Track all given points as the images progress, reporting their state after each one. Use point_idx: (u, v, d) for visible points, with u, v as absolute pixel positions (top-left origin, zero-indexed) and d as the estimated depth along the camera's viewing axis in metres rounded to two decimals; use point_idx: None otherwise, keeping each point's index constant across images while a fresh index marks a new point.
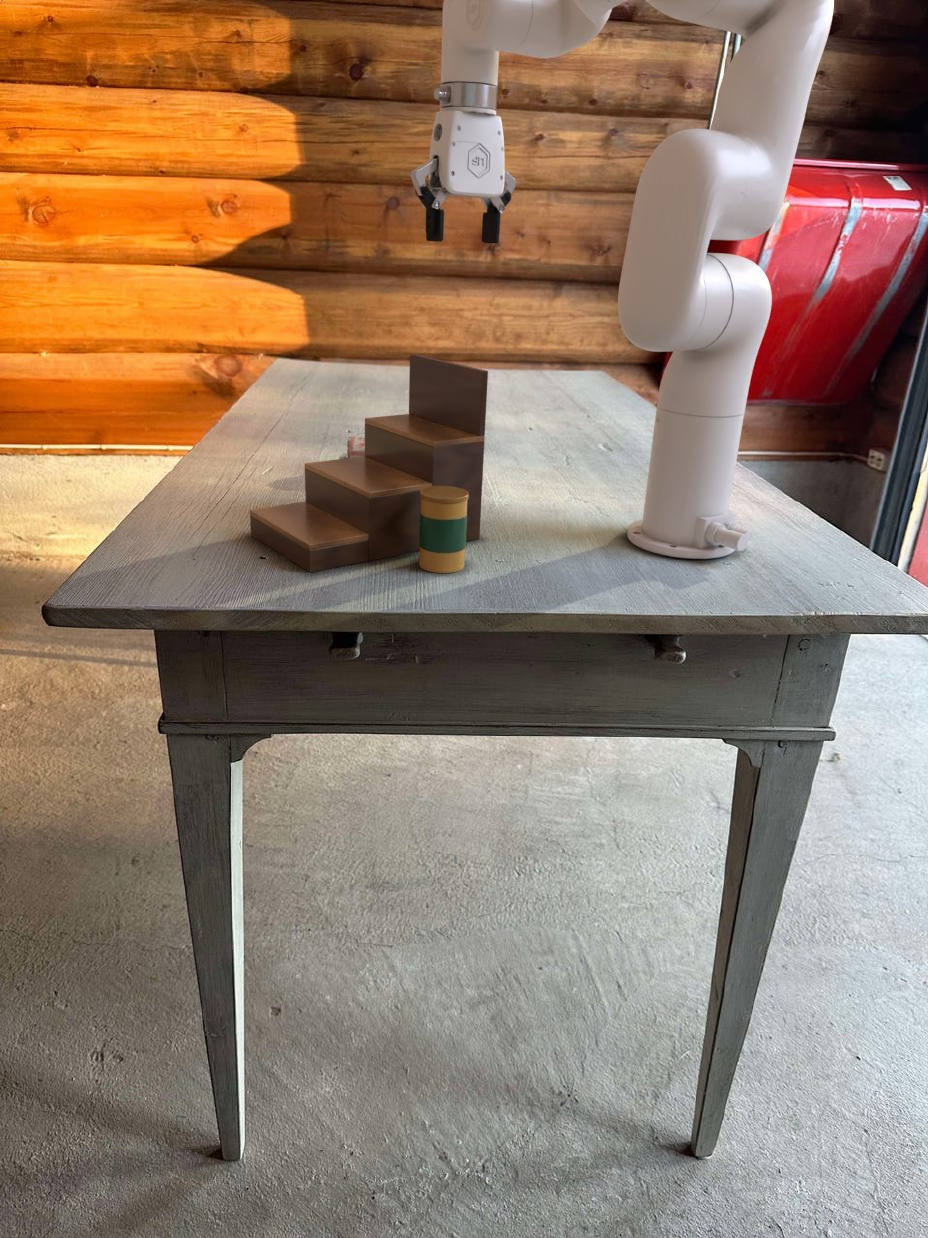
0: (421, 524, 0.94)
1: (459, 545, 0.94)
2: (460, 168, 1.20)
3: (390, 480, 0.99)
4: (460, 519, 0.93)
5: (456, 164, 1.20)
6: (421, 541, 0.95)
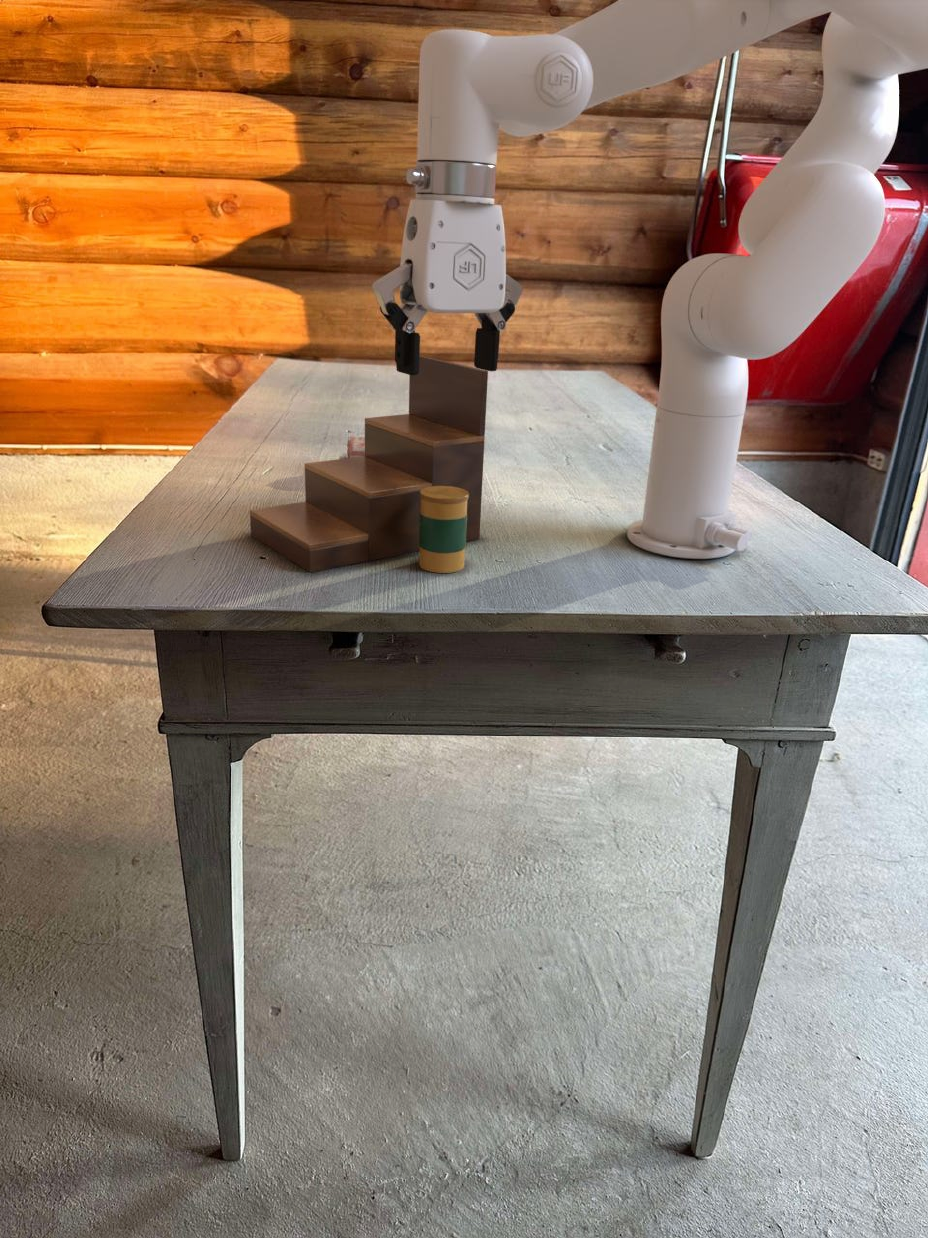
0: (421, 524, 0.94)
1: (459, 545, 0.94)
2: (442, 278, 0.86)
3: (390, 480, 0.99)
4: (460, 519, 0.93)
5: (436, 273, 0.85)
6: (421, 541, 0.95)
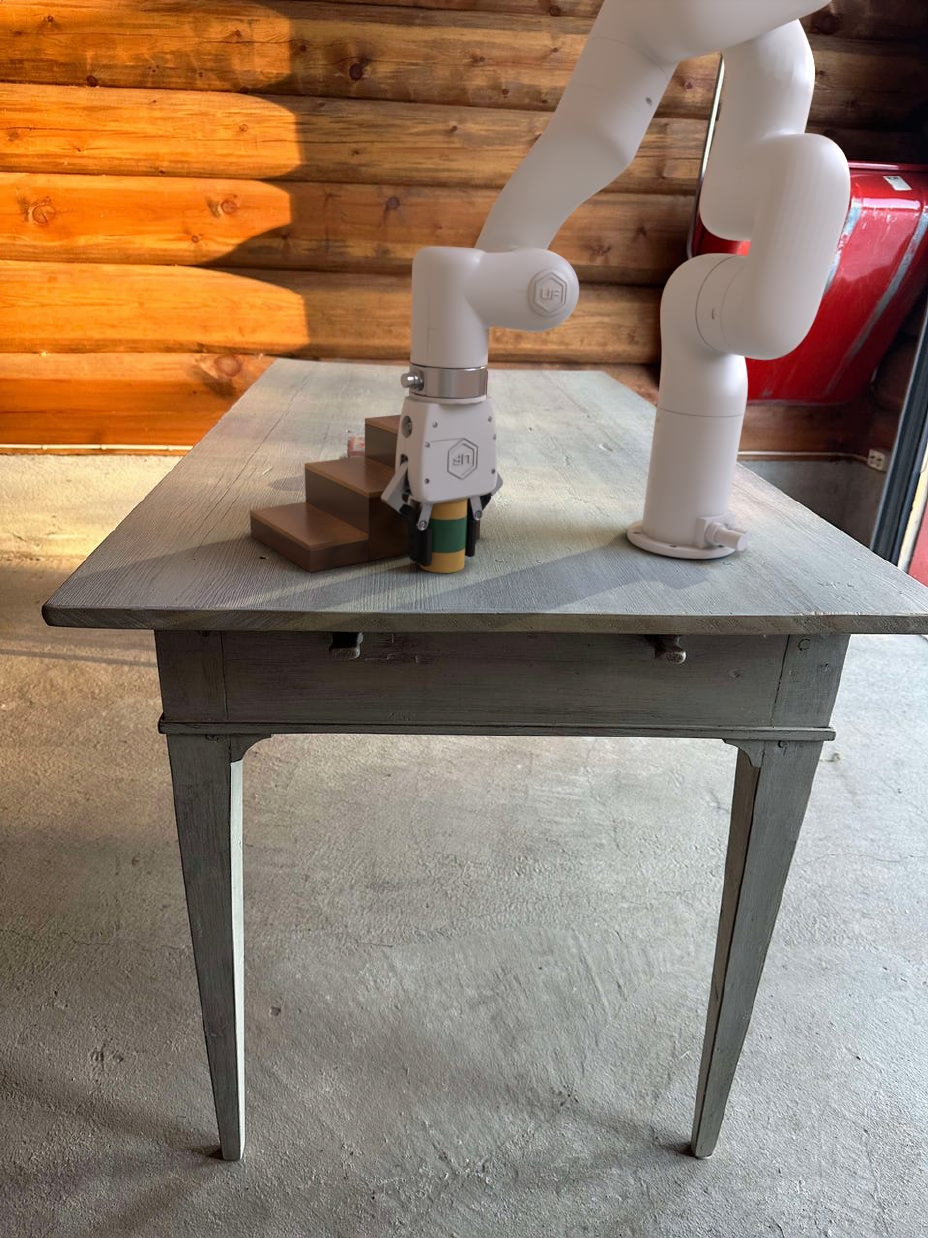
0: None
1: (459, 545, 0.94)
2: (437, 473, 0.89)
3: (390, 480, 0.99)
4: (460, 519, 0.93)
5: (431, 469, 0.88)
6: None
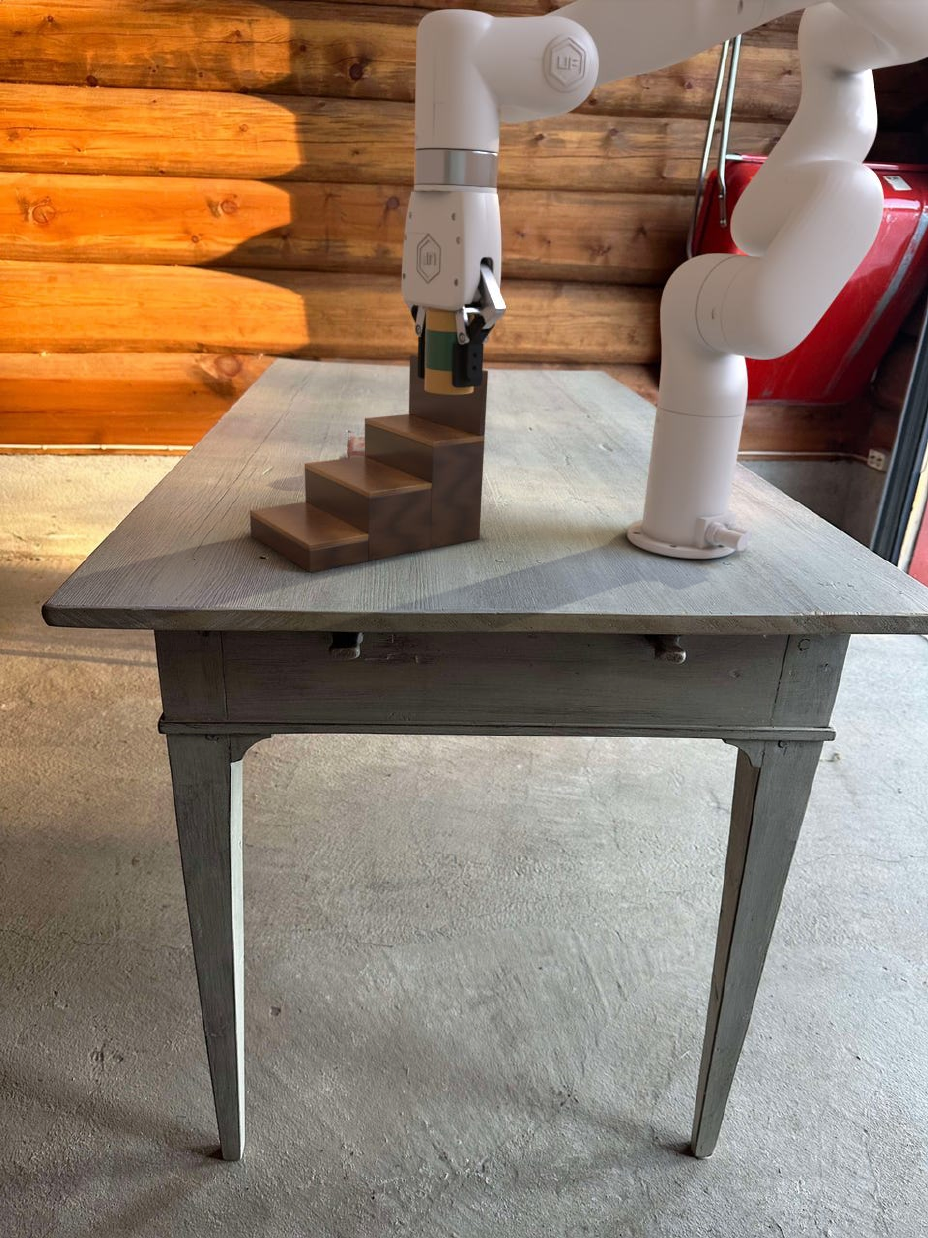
0: None
1: (432, 362, 0.87)
2: (410, 269, 0.86)
3: (390, 480, 0.99)
4: (432, 331, 0.86)
5: (407, 263, 0.86)
6: None
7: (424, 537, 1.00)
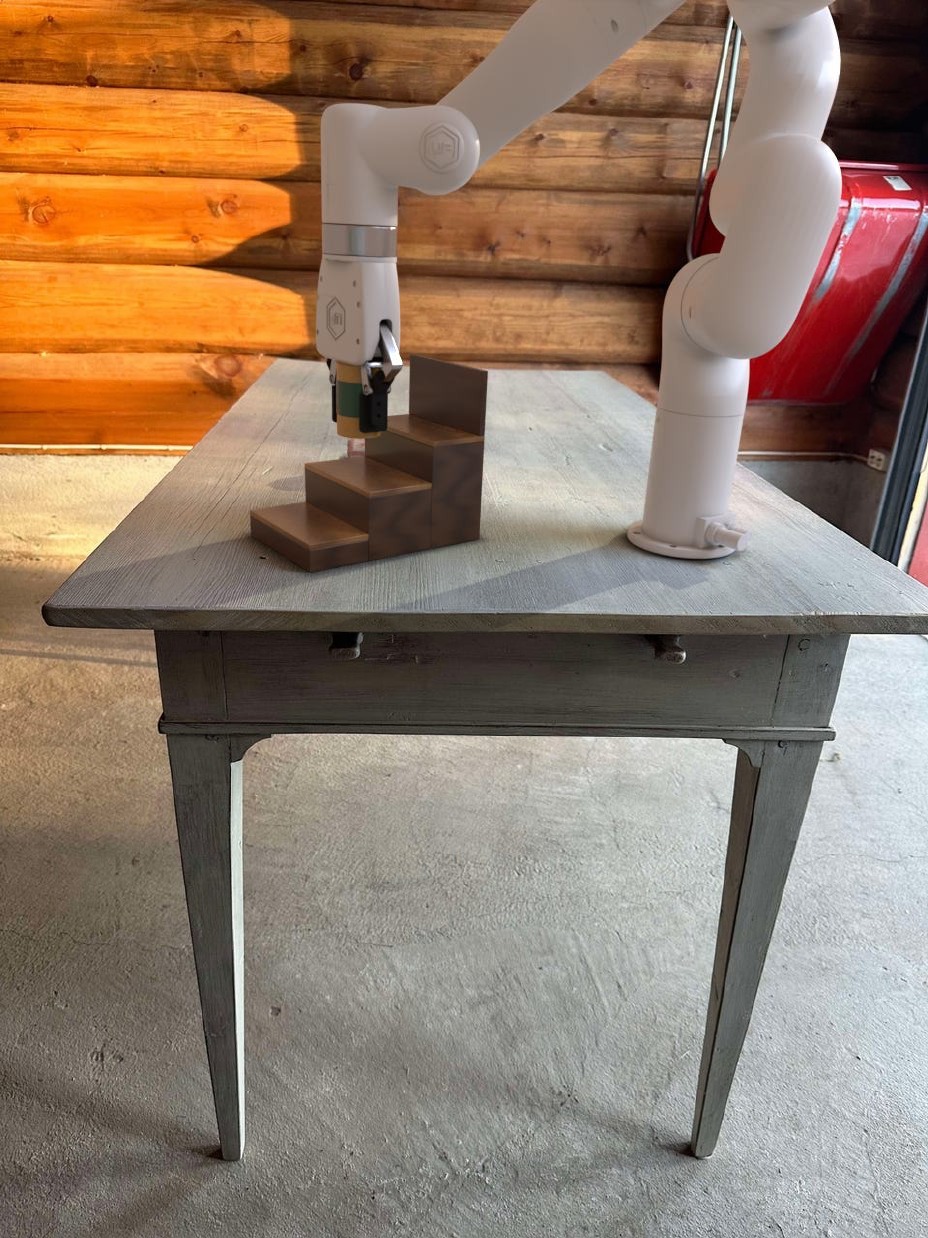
0: None
1: (341, 409, 0.96)
2: (322, 326, 0.95)
3: (390, 480, 0.99)
4: (341, 382, 0.95)
5: (319, 321, 0.96)
6: None
7: (424, 537, 1.00)
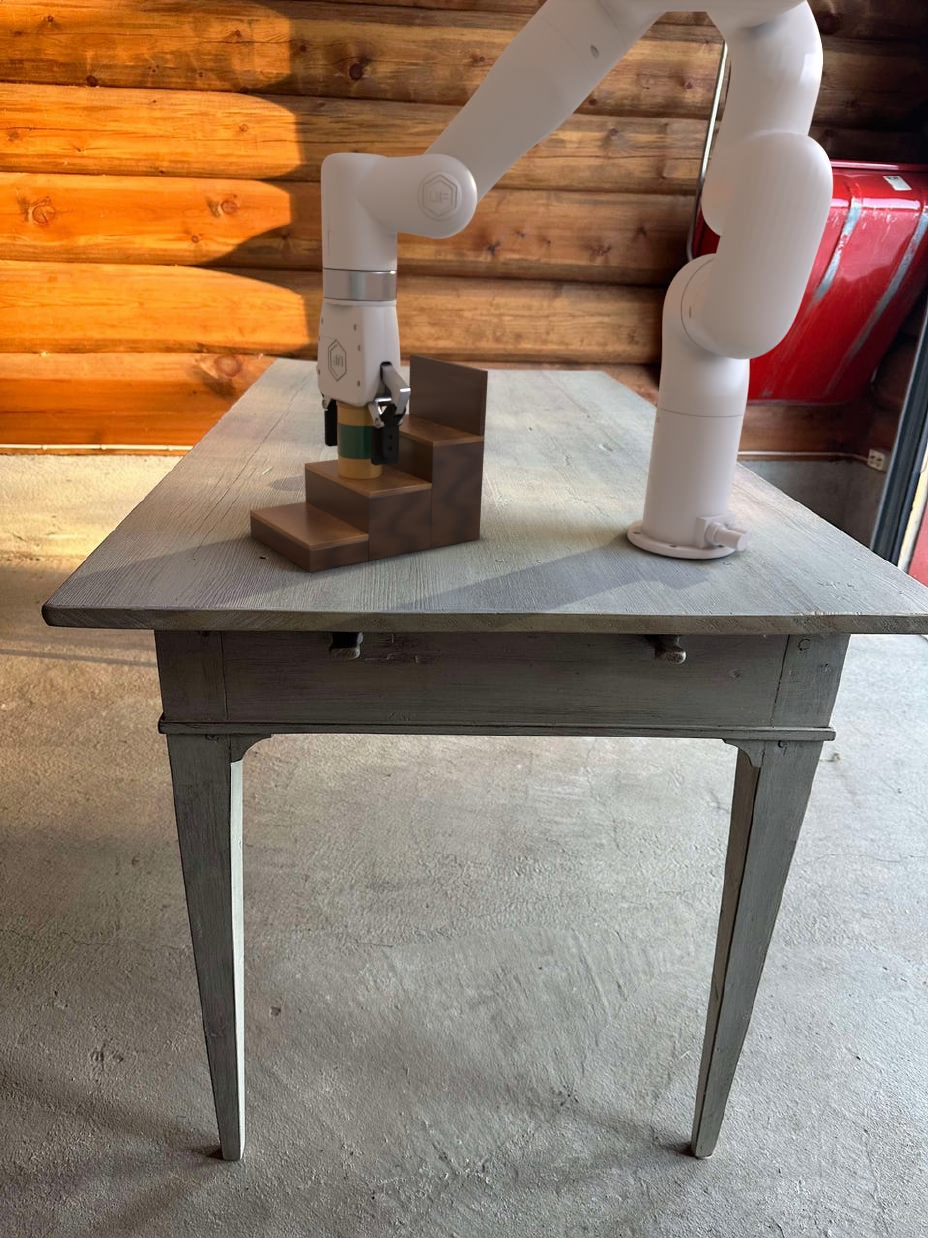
0: None
1: (342, 451, 0.98)
2: (323, 367, 0.97)
3: (390, 480, 0.99)
4: (342, 424, 0.97)
5: (321, 361, 0.97)
6: None
7: (424, 537, 1.00)
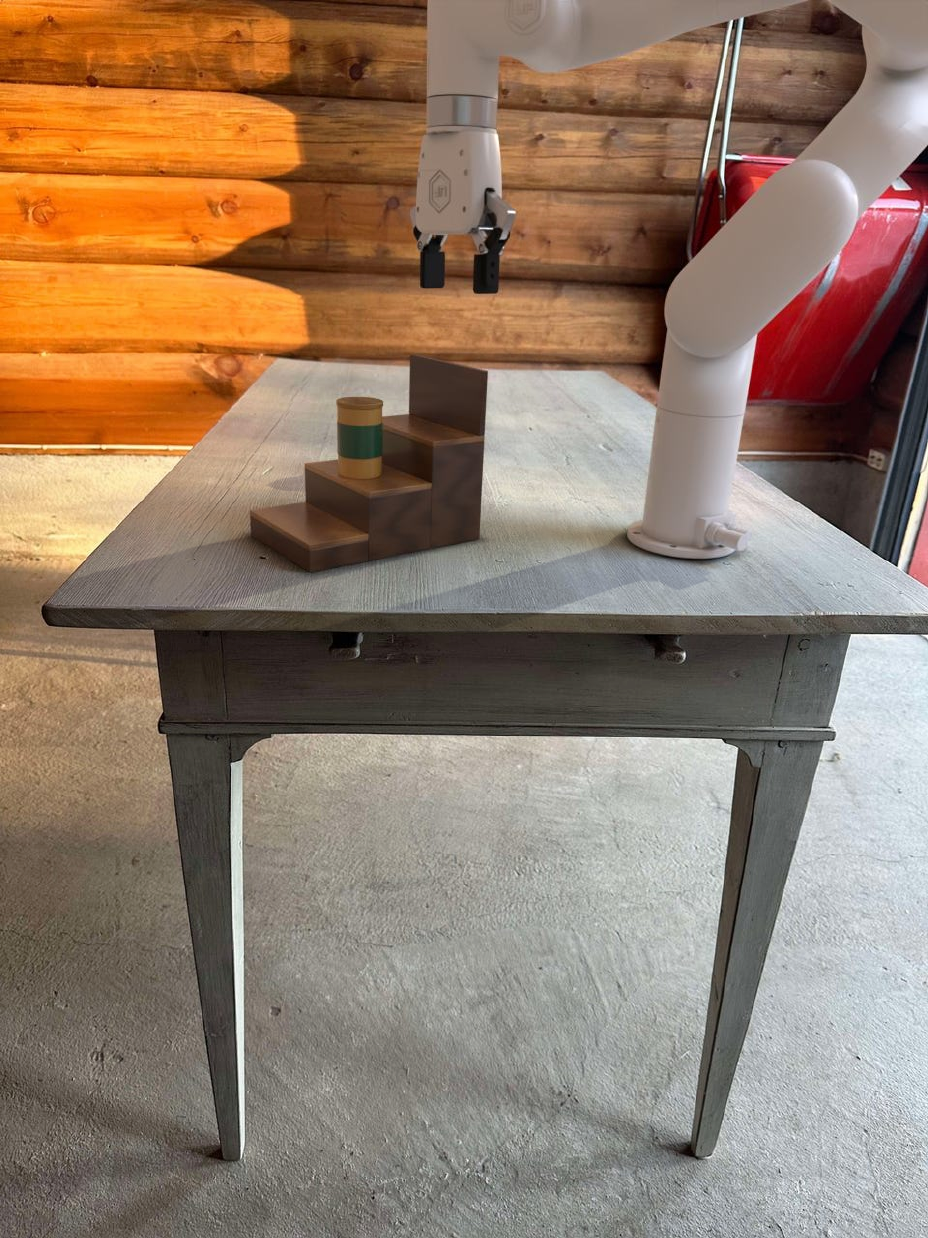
0: None
1: (342, 451, 0.98)
2: (423, 202, 1.00)
3: (390, 480, 0.99)
4: (342, 424, 0.97)
5: (420, 198, 1.01)
6: None
7: (424, 537, 1.00)
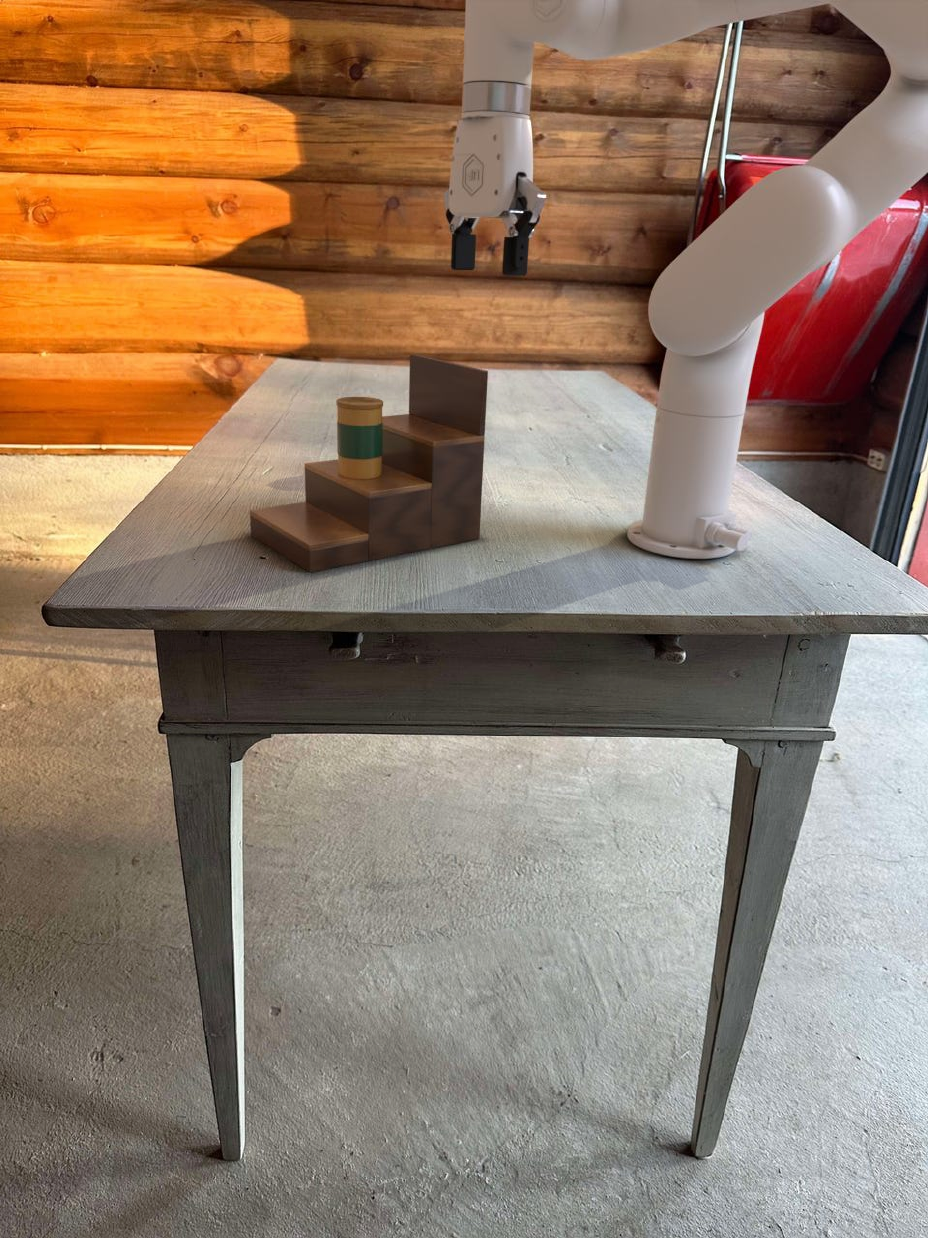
0: None
1: (342, 451, 0.98)
2: (456, 186, 1.04)
3: (390, 480, 0.99)
4: (342, 424, 0.97)
5: (454, 181, 1.04)
6: None
7: (424, 537, 1.00)
